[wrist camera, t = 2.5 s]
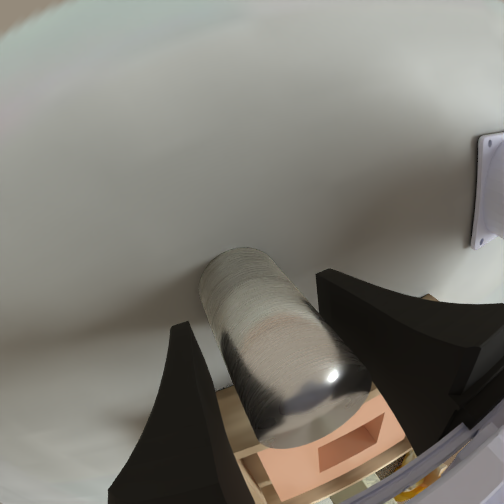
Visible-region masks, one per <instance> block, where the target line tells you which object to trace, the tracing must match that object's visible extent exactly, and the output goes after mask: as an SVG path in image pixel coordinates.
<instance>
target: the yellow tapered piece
mask: <svg viewBox="0 0 504 504" xmlns="http://www.w3.org/2000/svg"><path fill="white" fill-rule="evenodd" d="M415 458H417V456H416V454H415V452H414V450H413V449H412V450H410V451H409V452H407V453H406V454H405V457H404V459H403V462H402V465H400V466H399V467H397V468H396V469H395V470H394V472H396V471H397V470H399V469H400V468H402V467H403V466H405V465H406V464H408V463H409V462H411V461H412V460H414V459H415ZM446 468H447V465H444V464H441V465H440V466H439V467H437V468H436V469H435V470H433V471H432V472H431V473H429V474H428V475H427V476H425V477H424V478H422V479H421V480H420V481H418V482H417V483H415V484H414V485H412V486H411V487H409V488H408V489H406V490H405V491H403V492H402V493H400V494H399V495H397V496H395V497H394V500H395V501H399V502H402V501H405V500H407V499H411V498H413V497H414V496H416V495H417V494H418V493H420V492H421V491H423V490H424V489H425V488H427V487H428V486H430V485H431V484H432V483H434V482H435V481H436V480H438V479H439V478H440V477H441V474H442V473H443V472H444V471H445V470H446Z"/></svg>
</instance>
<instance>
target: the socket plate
mask: <svg viewBox="0 0 504 504" xmlns="http://www.w3.org/2000/svg"><path fill="white" fill-rule="evenodd" d="M404 438H405V433H404V431H403V429H402V427H401V426H400V424H399V422H398V421H397V419H396V417H395V415H394V414H393V412H392V410H391V409H390V407H389V406H388V404H387V403H386V401H385V399H384V398H383V396H382V395H381V394H380V395H378V396H376V397H374V398H373V399H371V400H369V401H367V402H366V403H364V404H363V405H362V406H361V407H360V409H359V410H358V411H357V412H356V413H355V414H354V415H353V416H352V417H351V418H350V419H349V420H348V421H347V422H346V423H344V424H343V425H342V426H340V427H339V428H338V429H336V430H335V431H333V432H332V433H330V434H328V435H326V436H325V437H323V438H321V439H319V440H316V441H314V442H312V443H309V444H306V445H303V446H299V447H295V448H288V449H274V448H268V449H265V450H263V451H260V452H257V454H258V456H259V458H260V460H261V462H262V464H263V466H264V468H265V470H266V472H267V474H268V476H269V478H270V480H271V482H272V484H273V486H274V488H275V490H276V492H277V494H278V496H279V498H280V500H281V502H283V501H285V500H288V499H290V498H293V497H295V496H298V495H300V494H302V493H305V492H307V491H309V490H312V489H314V488H316V487H318V486H320V485H322V484H325V483H327V482H329V481H331V480H333V479H335V478H337V477H339V476H341V475H343V474H345V473H347V472H349V471H351V470H352V469H354V468H356V467H358V466H360V465H362V464H363V463H365V462H367V461H369V460H371V459H372V458H374V457H376V456H377V455H379V454H381V453H382V452H384V451H386V450H387V449H389V448H391V447H392V446H394V445H395V444H397V443H398V442H400V441H402V440H403V439H404Z"/></svg>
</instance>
